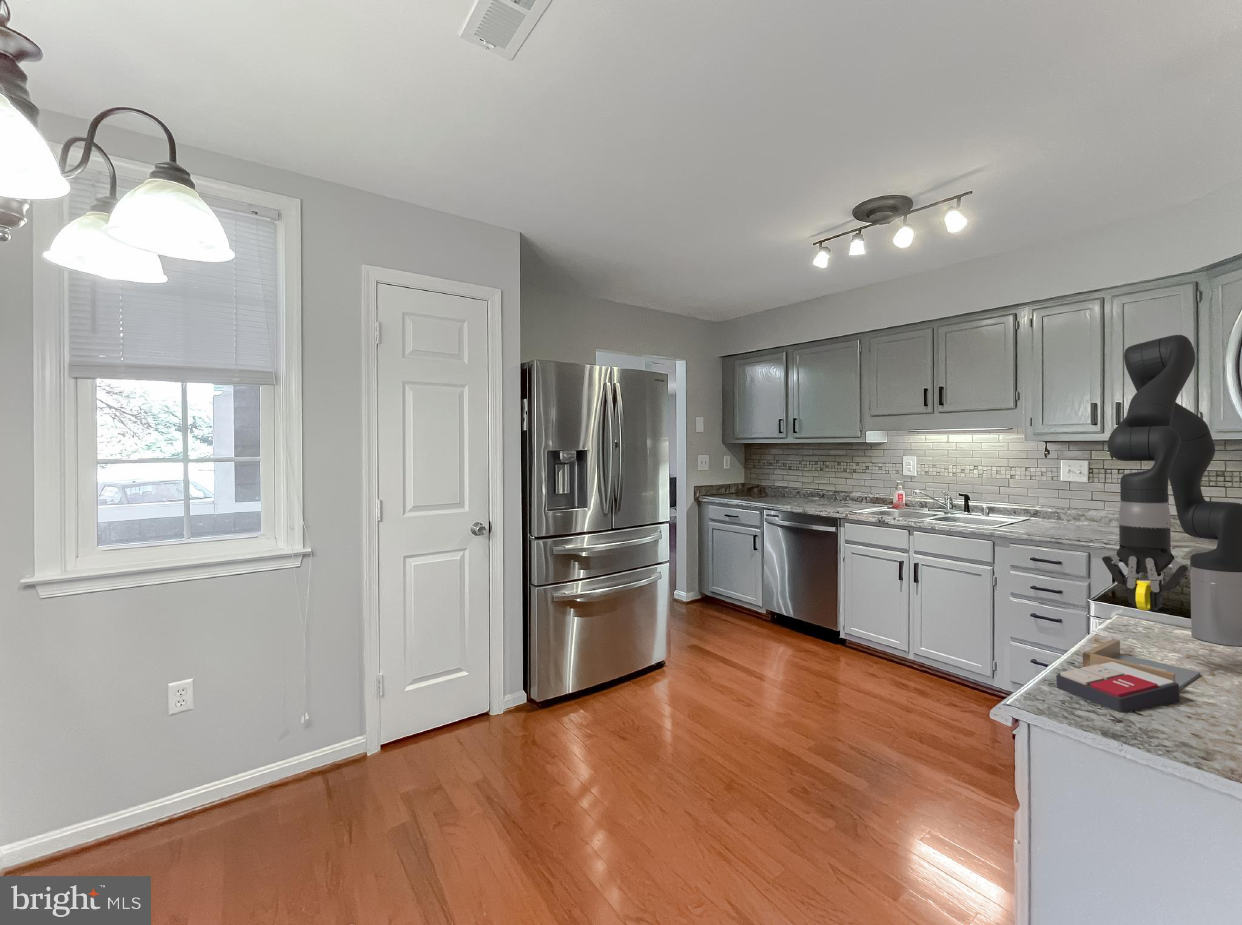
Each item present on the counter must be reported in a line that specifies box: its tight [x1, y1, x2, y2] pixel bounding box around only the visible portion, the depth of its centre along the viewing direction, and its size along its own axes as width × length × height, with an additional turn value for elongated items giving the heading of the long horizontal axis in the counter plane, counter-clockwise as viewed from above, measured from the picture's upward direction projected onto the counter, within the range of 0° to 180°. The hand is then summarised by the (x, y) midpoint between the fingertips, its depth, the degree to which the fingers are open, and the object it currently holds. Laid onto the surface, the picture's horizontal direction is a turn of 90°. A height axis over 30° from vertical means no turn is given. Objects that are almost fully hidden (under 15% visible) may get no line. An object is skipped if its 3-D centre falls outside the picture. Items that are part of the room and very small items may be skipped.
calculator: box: [1056, 662, 1180, 714], centre depth 100 cm, size 11×4×15 cm
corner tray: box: [1082, 638, 1201, 691], centre depth 110 cm, size 16×14×4 cm
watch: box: [1136, 578, 1152, 611], centre depth 109 cm, size 6×3×6 cm, turn 121°
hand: (1145, 607), depth 109 cm, fingers closed on watch, 2 cm apart
